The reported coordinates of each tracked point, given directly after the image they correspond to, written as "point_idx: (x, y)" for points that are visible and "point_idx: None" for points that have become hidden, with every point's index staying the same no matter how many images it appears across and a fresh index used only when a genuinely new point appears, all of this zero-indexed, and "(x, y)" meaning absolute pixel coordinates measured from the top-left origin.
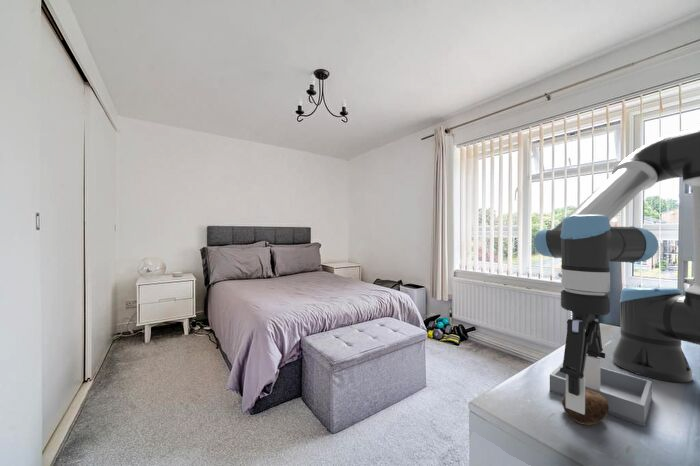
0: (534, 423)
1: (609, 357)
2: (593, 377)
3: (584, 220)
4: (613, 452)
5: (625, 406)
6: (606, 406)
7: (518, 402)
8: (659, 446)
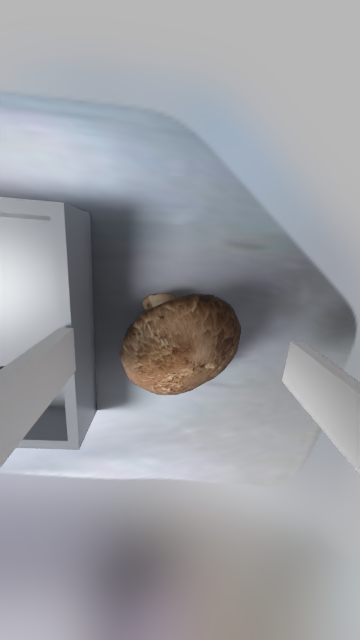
0: (283, 399)
1: None
2: (56, 363)
3: None
4: (285, 269)
5: (76, 256)
6: (205, 301)
7: (217, 441)
8: (173, 184)
